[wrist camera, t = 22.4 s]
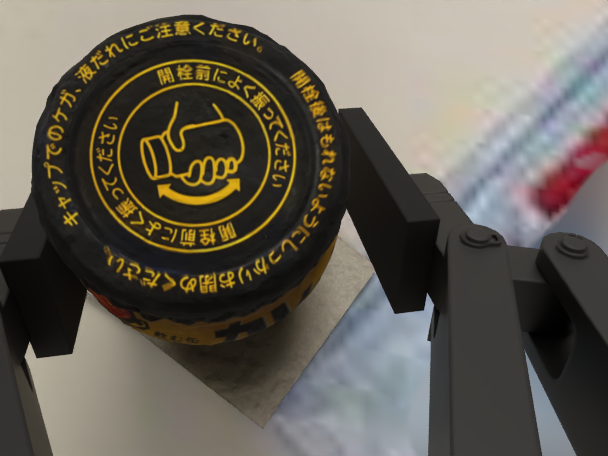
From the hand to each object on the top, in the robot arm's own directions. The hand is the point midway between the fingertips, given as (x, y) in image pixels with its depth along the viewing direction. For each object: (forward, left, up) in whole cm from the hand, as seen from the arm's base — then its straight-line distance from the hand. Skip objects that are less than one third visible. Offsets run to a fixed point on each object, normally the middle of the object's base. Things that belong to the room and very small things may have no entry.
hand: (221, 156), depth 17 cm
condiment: (-2, -3, -4) cm, 5 cm away
